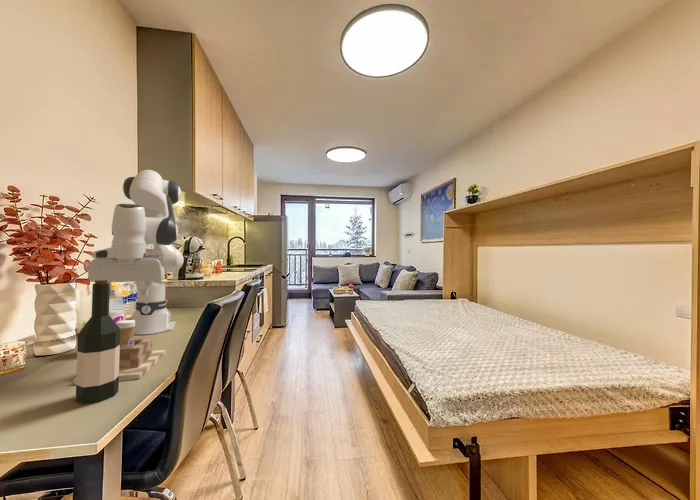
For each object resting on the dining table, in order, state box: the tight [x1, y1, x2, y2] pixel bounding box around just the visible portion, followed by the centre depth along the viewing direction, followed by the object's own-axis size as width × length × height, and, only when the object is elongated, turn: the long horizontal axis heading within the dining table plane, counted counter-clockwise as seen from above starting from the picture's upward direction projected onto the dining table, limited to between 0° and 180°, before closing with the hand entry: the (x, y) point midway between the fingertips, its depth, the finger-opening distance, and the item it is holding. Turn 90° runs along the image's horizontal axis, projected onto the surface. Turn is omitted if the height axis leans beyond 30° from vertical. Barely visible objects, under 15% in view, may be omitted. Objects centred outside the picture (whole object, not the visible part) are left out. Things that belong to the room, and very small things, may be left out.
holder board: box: [72, 337, 166, 386], centre depth 93 cm, size 22×16×8 cm
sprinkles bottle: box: [117, 319, 135, 347], centre depth 93 cm, size 5×5×14 cm
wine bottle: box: [75, 280, 120, 405], centre depth 75 cm, size 8×8×30 cm
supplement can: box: [109, 308, 125, 324], centre depth 108 cm, size 8×8×15 cm
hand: (127, 295), depth 93 cm, fingers open, 8 cm apart
